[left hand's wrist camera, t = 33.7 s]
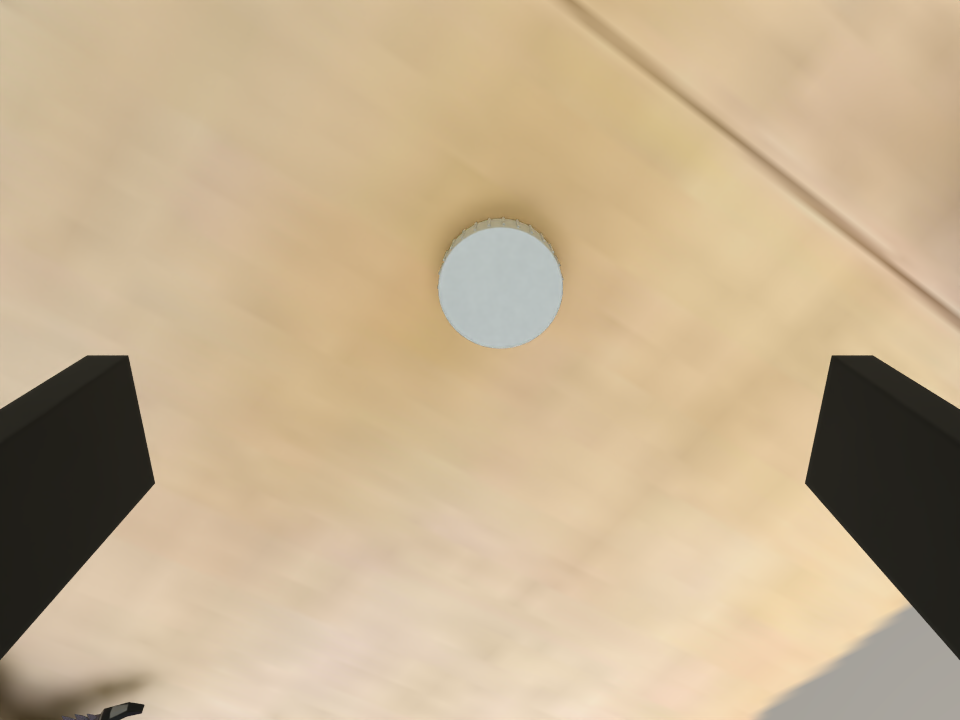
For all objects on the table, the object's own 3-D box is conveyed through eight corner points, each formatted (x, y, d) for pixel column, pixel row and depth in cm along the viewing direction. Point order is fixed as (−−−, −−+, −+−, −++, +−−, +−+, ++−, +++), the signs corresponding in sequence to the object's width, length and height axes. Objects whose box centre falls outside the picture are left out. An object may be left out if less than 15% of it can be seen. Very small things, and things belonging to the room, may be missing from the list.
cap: (536, 198, 24) (540, 205, 22) (574, 309, 25) (581, 325, 23) (423, 242, 24) (417, 252, 22) (466, 347, 26) (464, 366, 24)
